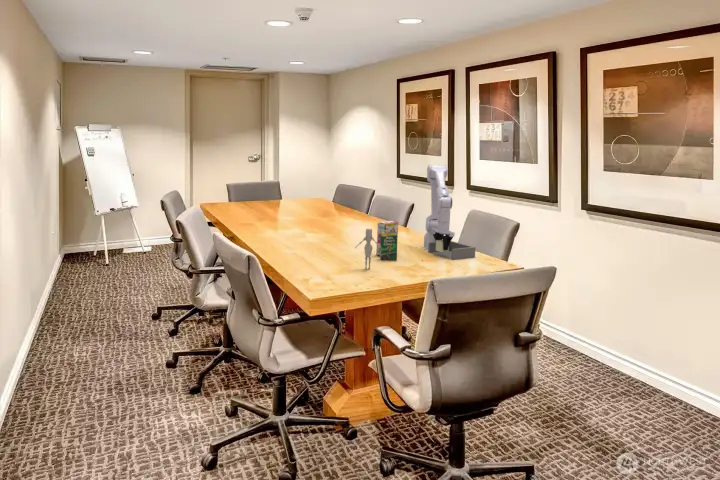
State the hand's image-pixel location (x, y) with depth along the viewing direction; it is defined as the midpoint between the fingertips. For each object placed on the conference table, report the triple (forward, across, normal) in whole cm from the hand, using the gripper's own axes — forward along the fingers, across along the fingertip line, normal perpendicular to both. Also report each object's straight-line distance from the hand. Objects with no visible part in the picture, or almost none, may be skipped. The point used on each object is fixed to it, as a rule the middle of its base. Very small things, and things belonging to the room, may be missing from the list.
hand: (442, 249), depth 274 cm
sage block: (+1, 0, 0) cm, 1 cm away
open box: (+4, 0, +6) cm, 7 cm away
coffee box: (+4, -6, -28) cm, 29 cm away
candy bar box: (+4, -16, -22) cm, 27 cm away
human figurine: (+4, +6, -47) cm, 48 cm away
